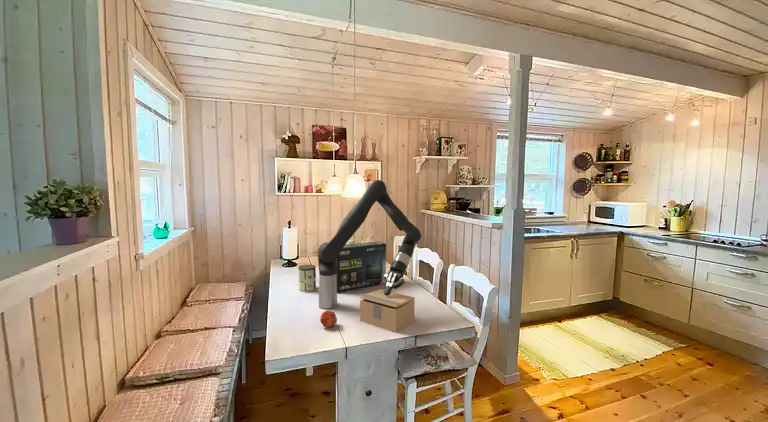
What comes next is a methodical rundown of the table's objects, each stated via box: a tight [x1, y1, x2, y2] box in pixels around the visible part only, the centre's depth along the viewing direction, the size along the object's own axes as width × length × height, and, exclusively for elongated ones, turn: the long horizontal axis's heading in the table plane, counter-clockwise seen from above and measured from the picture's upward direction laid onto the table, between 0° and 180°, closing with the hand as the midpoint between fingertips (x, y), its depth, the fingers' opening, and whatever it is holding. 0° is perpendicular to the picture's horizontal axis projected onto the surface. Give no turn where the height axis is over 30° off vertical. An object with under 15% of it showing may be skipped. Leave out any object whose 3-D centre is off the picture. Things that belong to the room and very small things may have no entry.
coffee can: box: [297, 264, 317, 293], centre depth 198 cm, size 10×10×14 cm
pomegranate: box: [319, 310, 338, 329], centre depth 147 cm, size 7×7×10 cm
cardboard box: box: [359, 298, 415, 333], centre depth 153 cm, size 16×20×10 cm
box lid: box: [359, 288, 416, 307], centre depth 153 cm, size 16×20×1 cm
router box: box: [336, 240, 387, 294], centre depth 204 cm, size 36×11×27 cm, turn 123°
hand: (386, 294), depth 152 cm, fingers closed
